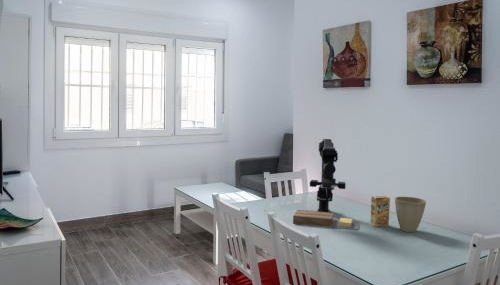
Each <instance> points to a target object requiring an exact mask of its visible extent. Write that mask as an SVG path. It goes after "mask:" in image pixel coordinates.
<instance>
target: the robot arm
mask: <svg viewBox="0 0 500 285" xmlns="http://www.w3.org/2000/svg"><path fill="white" fill-rule="evenodd" d="M332 140H333V139H330V138H322V140H321V141H320V142H319V143H318V152H319V156H320V158H321V181H319V180H318V179H311V180H310V182H309V187H312V188H316V187H317V186H319V187H318V189H317V191H316V202H318V209H317V211H318V212H330V208H329V204H330V203H329V202H333V196H334V194H333V190H335V188H336V187H337V188H338V189H341V190H346V185H347V183H346V182H345V181H336V178H334V176H335V175H334V174H335V173H336V166H335V163H337V162H338V160H339V158H338V157H339V155H338V152H337V150H336V148H335V147H334V142H332Z"/></svg>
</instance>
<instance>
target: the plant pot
mask: <svg viewBox="0 0 500 285" xmlns="http://www.w3.org/2000/svg"><path fill="white" fill-rule="evenodd" d="M394 203H395V212H396V218H397V222H398V226H399V228H400V230H401V231H402V232H406V233H416V232H417V231H418V228H419V226H420V224H421V221H422V219H423V216H424V212H425V209H426V205H427V200H425V199H422V198H419V197H414V196H413V197H412V196H396V197H394Z"/></svg>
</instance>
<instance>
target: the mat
mask: <svg viewBox="0 0 500 285" xmlns="http://www.w3.org/2000/svg"><path fill="white" fill-rule="evenodd" d="M339 221H340V218H339V219H338V218H333V223H332V227H331V228H334V229H342V230H352V231H353V230H354V231H359V229H360V221H358V220H352V224H351V227H346V226H339Z"/></svg>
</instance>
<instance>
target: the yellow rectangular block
mask: <svg viewBox="0 0 500 285" xmlns="http://www.w3.org/2000/svg"><path fill="white" fill-rule="evenodd" d="M339 219H340V221H339V226H346V227H351V224H352V221H353V219H352V218H347V217H340V218H339Z"/></svg>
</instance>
